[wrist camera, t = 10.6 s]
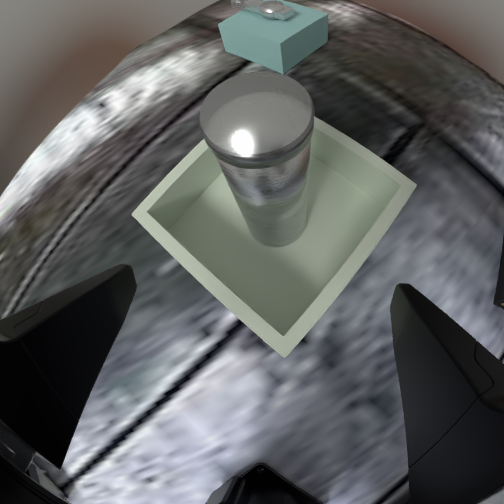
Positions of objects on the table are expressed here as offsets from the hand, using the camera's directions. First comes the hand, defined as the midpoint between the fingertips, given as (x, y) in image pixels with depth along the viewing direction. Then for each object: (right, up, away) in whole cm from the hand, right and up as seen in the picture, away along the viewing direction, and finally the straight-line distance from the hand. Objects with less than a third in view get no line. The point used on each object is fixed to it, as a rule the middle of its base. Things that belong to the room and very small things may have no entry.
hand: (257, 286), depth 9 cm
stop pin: (+1, +3, +11) cm, 11 cm away
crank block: (+3, +24, +17) cm, 29 cm away
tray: (+2, +3, +12) cm, 12 cm away
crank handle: (+1, +26, +14) cm, 29 cm away
